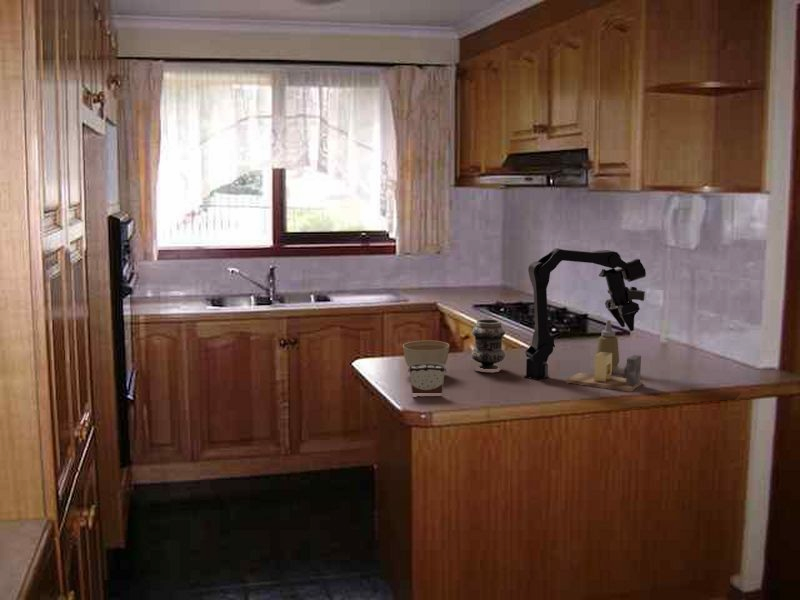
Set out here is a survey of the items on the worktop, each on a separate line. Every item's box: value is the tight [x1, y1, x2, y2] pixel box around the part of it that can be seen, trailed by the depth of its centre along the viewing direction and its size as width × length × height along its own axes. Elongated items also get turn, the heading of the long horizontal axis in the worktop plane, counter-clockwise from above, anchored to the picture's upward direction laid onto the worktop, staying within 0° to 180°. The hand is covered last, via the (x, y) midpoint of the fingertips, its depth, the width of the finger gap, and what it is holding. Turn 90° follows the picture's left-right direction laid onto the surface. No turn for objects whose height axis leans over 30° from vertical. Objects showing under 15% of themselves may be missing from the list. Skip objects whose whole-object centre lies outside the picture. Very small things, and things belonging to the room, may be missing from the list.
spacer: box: [593, 352, 613, 382], centre depth 288 cm, size 4×6×9 cm, turn 148°
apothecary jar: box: [470, 318, 506, 369], centre depth 307 cm, size 12×12×18 cm
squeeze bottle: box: [596, 320, 620, 368], centre depth 304 cm, size 8×8×18 cm
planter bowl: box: [402, 340, 450, 368], centre depth 300 cm, size 16×16×11 cm
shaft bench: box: [565, 354, 643, 392], centre depth 287 cm, size 22×12×10 cm, turn 58°
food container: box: [407, 362, 448, 394], centre depth 275 cm, size 12×6×10 cm, turn 92°
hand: (627, 328), depth 299 cm, fingers open, 9 cm apart
